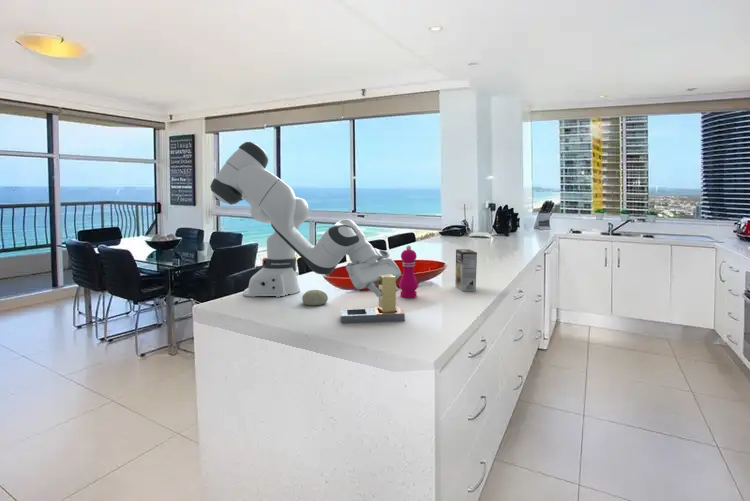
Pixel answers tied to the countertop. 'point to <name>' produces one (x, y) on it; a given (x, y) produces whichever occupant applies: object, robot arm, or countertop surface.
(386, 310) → the brass block
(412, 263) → the pepper mill
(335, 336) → the countertop surface
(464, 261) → the coffee box
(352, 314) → the grey slotted board
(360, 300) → the countertop surface
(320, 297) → the sea urchin shell
